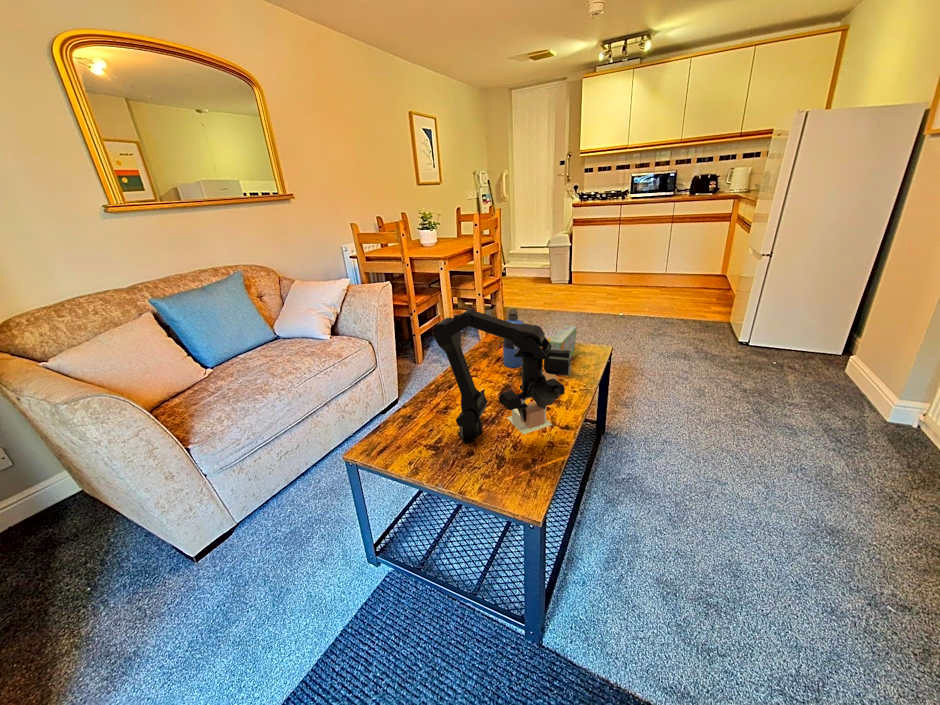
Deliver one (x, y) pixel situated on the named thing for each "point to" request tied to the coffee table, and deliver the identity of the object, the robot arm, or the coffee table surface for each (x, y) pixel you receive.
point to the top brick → (534, 415)
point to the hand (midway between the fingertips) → (532, 418)
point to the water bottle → (511, 345)
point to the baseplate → (527, 430)
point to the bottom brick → (517, 419)
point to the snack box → (565, 340)
